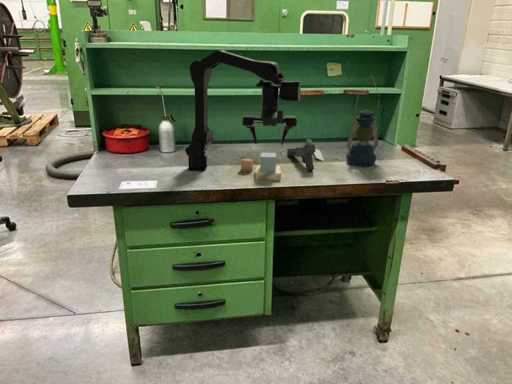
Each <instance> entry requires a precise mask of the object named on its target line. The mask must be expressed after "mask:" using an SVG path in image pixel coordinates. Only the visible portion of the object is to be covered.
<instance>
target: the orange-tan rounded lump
mask: <svg viewBox="0 0 512 384" xmlns="http://www.w3.org/2000/svg"><path fill="white" fill-rule="evenodd" d="M253 162H254V160H253V159H251V158H242V159H240V171H241V172H243V173H251V172H253V170H254V169H253V167H254V165H253V164H254V163H253Z"/></svg>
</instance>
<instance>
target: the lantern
mask: <svg viewBox="0 0 512 384" xmlns="http://www.w3.org/2000/svg"><path fill="white" fill-rule="evenodd" d="M370 77H371V78H372V81H373V84H374V86H375V88H376V92H377V95H378V96H380V93H379V90H378V88H377V85H376V82H375V80H374V77H373V75H372V74H370V75H369V76H368V78H367V80H366V81H365V82H364V85H363V87H362V88H361V90H360V91H359V93H358V95H357V98H356V102H355V108H354V112H353V113H354V114H353V119H354V121H353V123H352V126H351V129H350V133H349V136H348V139H347V142H346V143H347V144H346V149H347V150H348V152H347V153H346V155H345V156H346V157H345V158H346V162H347V163H348V164H349V165H351V166H354V167H363V168H365V167H372V166H373V165H374V164H375V163H376V161H377V155H376V154H375V150H376V148H377V147H378V144H379V136H378V135H379V134H378V122H377V117H378V115H379V112H377V114H376V116H374V112H373V111H371V110H370V109H363V110H360V111H358V115H356V110H357V104H358V99H359V96H360V94H361V93H362V91H363V89H364V87H365V85H366V84H367V82H368V81H369V79H370ZM379 106H380V100H378V104H377V109H380V108H379ZM357 125H358V126H357ZM371 125H372V126H371ZM354 136H355V138H356V139H357V142H356V141H355V142H353V143H352V141H353V139H354ZM372 138H373V144H371V143H370V142H369V141H370V140H371V139H372Z"/></svg>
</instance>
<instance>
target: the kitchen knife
mask: <svg viewBox="0 0 512 384" xmlns="http://www.w3.org/2000/svg"><path fill="white" fill-rule="evenodd" d="M305 145H314V143H313V140H312V139H310V138H307V139H306V141H305ZM313 154H314V157H315V158H316V159H317V160H320V161H322V162H324V161H325V159H324V155H323V154H322V152H321V150H320V149H318V148H315V152H314V153H313Z"/></svg>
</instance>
